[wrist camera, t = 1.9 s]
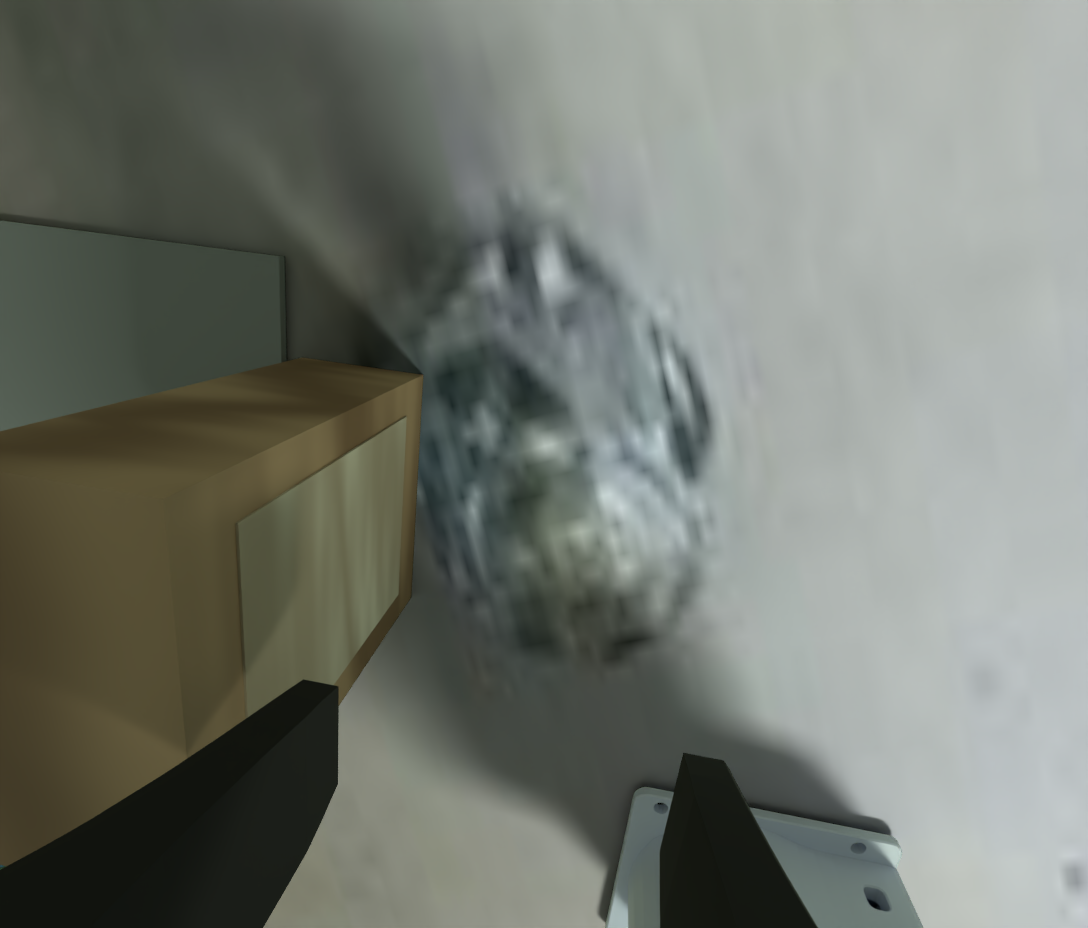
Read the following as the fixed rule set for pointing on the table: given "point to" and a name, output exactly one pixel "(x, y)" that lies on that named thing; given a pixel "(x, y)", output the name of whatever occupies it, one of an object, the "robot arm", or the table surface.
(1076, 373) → the table surface
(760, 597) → the table surface
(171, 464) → the tan rectangular block
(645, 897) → the robot arm
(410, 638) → the table surface
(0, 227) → the mat
